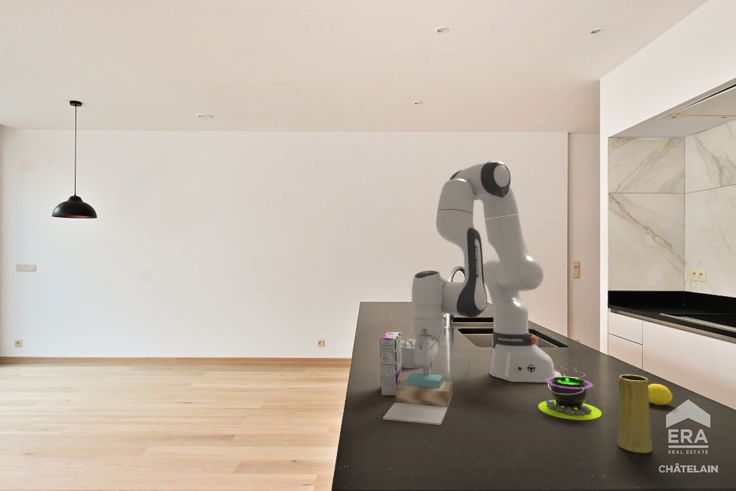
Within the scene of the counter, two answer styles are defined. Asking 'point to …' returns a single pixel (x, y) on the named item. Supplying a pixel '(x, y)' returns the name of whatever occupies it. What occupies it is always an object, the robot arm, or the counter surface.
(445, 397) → the wooden block
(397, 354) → the candy bar box
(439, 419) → the mat
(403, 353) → the lumpy-topped squat cylinder
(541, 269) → the robot arm
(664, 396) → the lemon
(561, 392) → the toy cauldron
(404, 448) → the counter surface
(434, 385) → the teal rectangular block
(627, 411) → the vase
